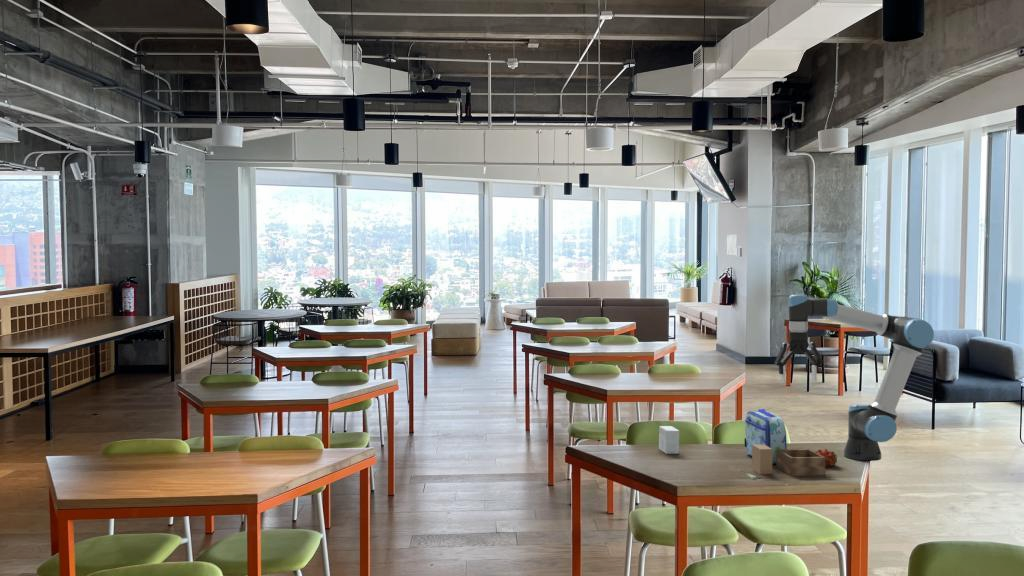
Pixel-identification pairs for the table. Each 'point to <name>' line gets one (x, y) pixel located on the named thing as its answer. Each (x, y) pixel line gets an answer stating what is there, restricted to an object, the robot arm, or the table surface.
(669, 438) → the skincare box
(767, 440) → the lunch box
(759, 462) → the lid
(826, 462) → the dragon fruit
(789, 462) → the box
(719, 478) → the table surface
